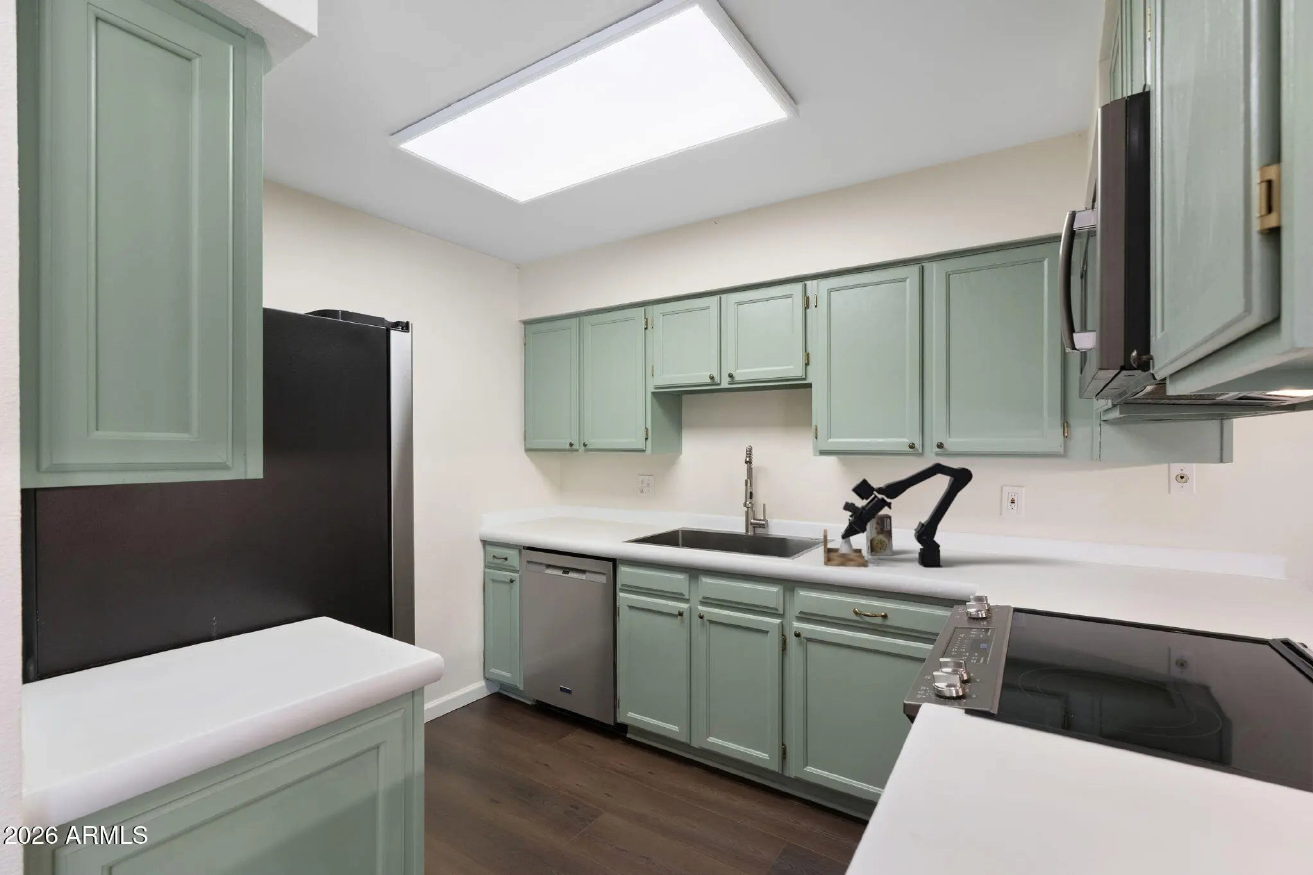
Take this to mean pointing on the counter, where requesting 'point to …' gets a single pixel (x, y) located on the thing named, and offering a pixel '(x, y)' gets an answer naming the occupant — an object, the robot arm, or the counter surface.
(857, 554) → the spice stand
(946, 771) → the counter surface
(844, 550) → the flask
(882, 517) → the coffee box
